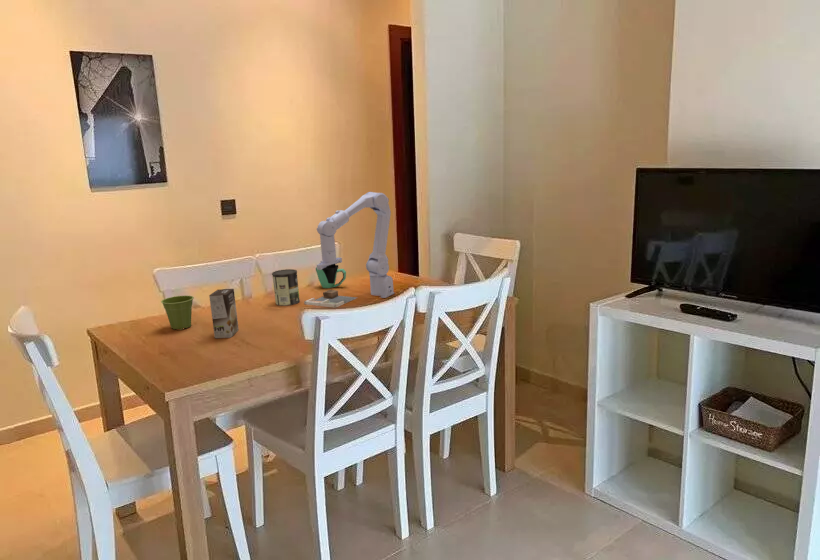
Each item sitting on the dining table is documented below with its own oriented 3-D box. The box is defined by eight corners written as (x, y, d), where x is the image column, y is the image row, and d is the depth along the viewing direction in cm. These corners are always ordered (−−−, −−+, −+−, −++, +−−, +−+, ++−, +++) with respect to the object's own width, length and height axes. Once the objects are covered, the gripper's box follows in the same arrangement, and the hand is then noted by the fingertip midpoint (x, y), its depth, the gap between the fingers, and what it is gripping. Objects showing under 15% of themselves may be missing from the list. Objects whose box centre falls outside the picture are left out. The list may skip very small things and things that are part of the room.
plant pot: (202, 326, 245) (198, 298, 242) (172, 334, 238) (167, 305, 235) (190, 320, 254) (186, 293, 251) (160, 328, 246) (156, 300, 244)
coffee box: (231, 337, 229) (226, 294, 226) (214, 338, 230) (208, 295, 226) (239, 329, 238) (234, 288, 235) (222, 330, 239) (216, 289, 235)
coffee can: (297, 299, 276) (294, 267, 273) (302, 305, 267) (299, 272, 264) (273, 303, 273) (270, 271, 270) (277, 309, 264) (273, 275, 260)
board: (358, 299, 271) (357, 294, 271) (335, 309, 258) (335, 304, 257) (327, 296, 279) (327, 291, 279) (304, 306, 266) (304, 301, 265)
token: (338, 296, 275) (337, 290, 274) (332, 298, 271) (331, 293, 271) (329, 295, 277) (329, 289, 277) (323, 297, 274) (323, 292, 273)
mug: (313, 290, 291) (311, 269, 288) (324, 285, 299) (322, 264, 297) (341, 292, 285) (339, 270, 282) (352, 286, 293) (350, 265, 291)
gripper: (331, 246, 267) (333, 278, 270) (309, 253, 255) (312, 286, 258) (344, 247, 264) (347, 279, 267) (323, 254, 252) (326, 287, 255)
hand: (331, 283), depth 262 cm, fingers closed
